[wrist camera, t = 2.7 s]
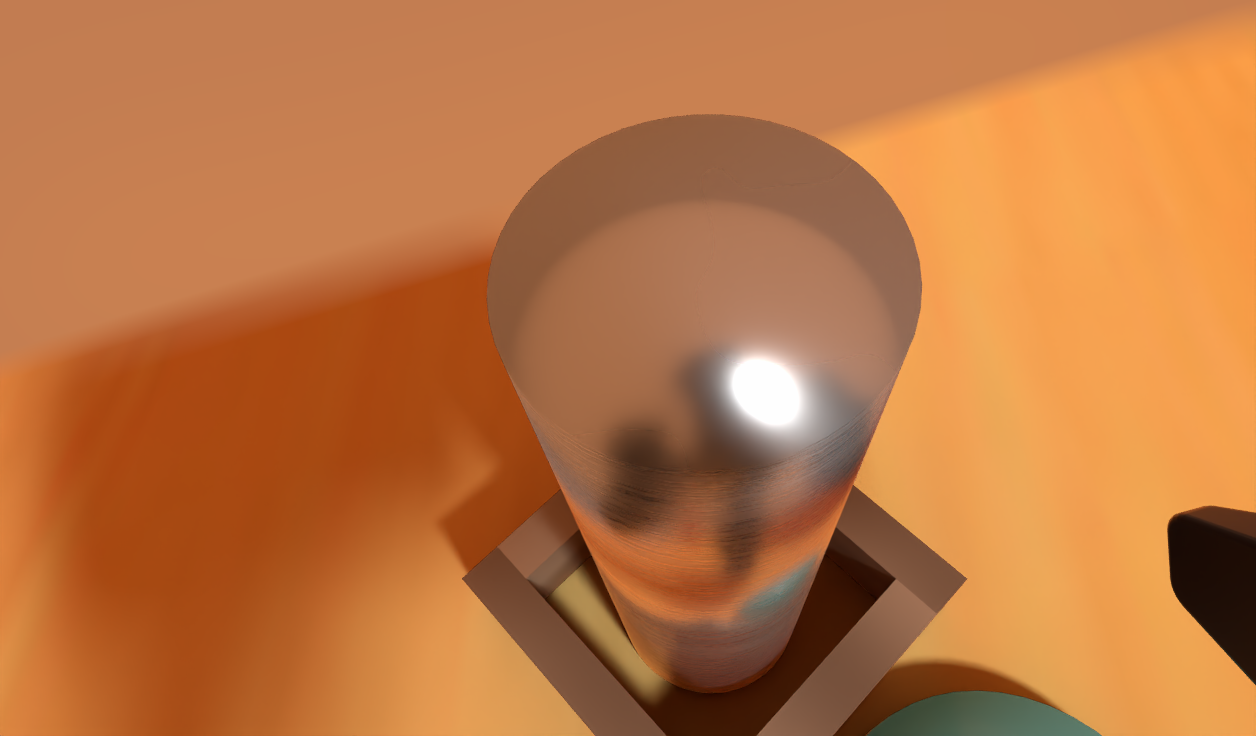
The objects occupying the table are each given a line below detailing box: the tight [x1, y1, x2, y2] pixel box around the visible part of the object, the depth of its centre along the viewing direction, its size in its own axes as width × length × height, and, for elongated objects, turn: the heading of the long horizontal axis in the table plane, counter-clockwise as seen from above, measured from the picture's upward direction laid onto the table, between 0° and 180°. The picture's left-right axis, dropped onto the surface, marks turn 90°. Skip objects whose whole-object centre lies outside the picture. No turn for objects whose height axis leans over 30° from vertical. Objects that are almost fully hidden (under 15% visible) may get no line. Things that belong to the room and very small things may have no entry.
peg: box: [487, 115, 922, 693], centre depth 13 cm, size 4×4×13 cm
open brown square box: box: [462, 485, 967, 736], centre depth 18 cm, size 8×8×2 cm
